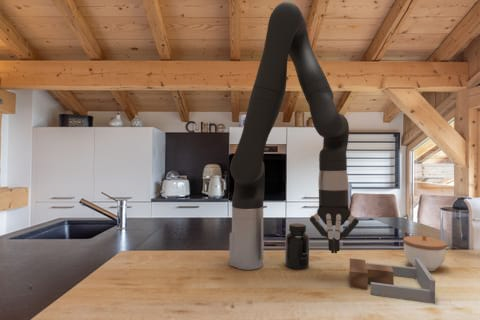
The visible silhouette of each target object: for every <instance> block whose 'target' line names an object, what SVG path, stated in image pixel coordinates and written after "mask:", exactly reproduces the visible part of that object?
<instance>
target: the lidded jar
mask: <svg viewBox="0 0 480 320" xmlns="http://www.w3.org/2000/svg"><path fill="white" fill-rule="evenodd" d="M402 241H403V253H404V255H405V258H406V260H407V261H408V262H409V263H410V265H411V267H414V268H415V258H417V259H420V260H421V261H422V263H423V264H424V266H425V267H426V268H427V270H428V271H429V272H433V271H437V269H438V268H440V267H441V266H442V265H443V264H444V262H445V259H446V253H447V243H446V242H445V241H443V240H442V239H440V238H435V237H429V236H427V234H421V235H420V236H419V235H408V236H404V237H403V239H402Z"/></svg>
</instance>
